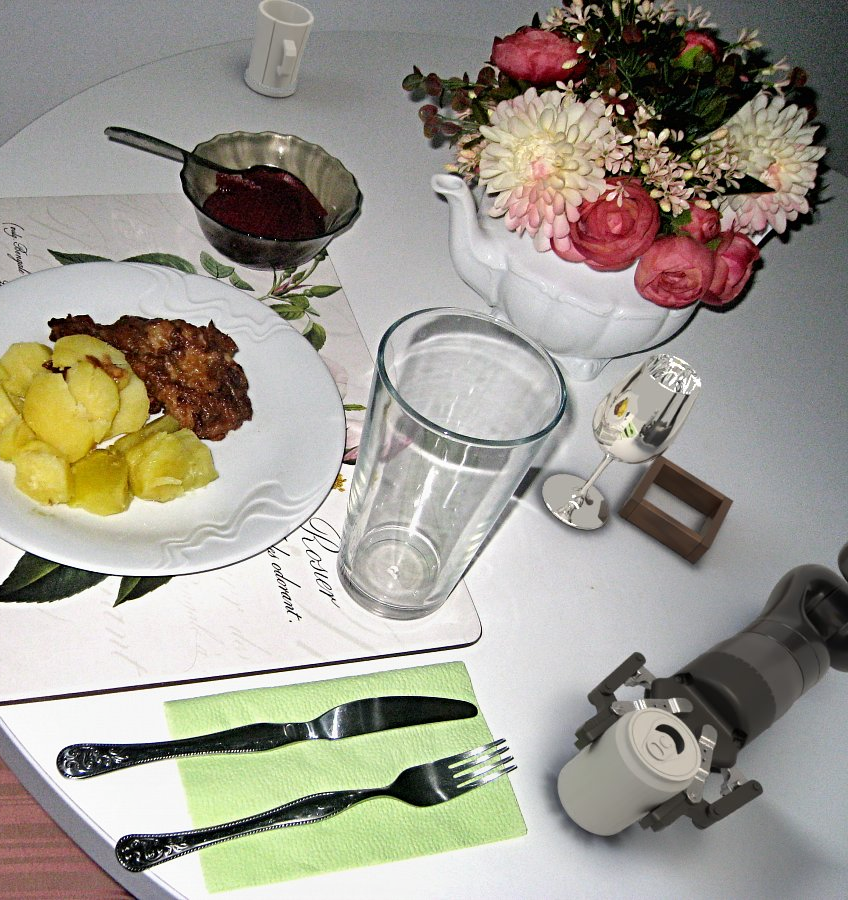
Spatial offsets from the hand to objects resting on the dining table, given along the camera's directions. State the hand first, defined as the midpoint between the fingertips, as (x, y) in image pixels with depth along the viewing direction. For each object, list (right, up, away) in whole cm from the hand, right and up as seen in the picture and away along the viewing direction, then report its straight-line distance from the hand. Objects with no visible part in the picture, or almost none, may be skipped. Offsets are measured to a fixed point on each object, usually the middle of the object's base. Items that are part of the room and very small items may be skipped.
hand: (613, 782), depth 69 cm
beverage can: (0, -4, +6) cm, 8 cm away
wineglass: (+8, +20, +29) cm, 36 cm away
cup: (-24, +85, +78) cm, 118 cm away
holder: (+19, +18, +31) cm, 41 cm away
